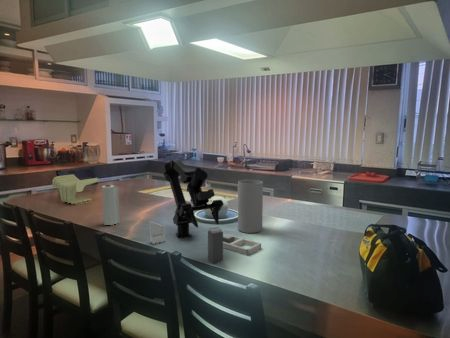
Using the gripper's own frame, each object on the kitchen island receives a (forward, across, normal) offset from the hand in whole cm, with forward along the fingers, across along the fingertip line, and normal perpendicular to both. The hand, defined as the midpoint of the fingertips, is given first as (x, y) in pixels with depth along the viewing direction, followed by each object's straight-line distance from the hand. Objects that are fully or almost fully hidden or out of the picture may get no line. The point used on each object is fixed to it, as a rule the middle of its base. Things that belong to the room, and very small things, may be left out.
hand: (207, 225), depth 128 cm
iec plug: (+14, 0, +4) cm, 14 cm away
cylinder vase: (-4, +33, +22) cm, 40 cm away
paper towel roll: (-36, -28, +53) cm, 70 cm away
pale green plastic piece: (-83, -40, +100) cm, 136 cm away
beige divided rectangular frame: (+7, +15, +11) cm, 20 cm away
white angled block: (-9, -14, +27) cm, 31 cm away
